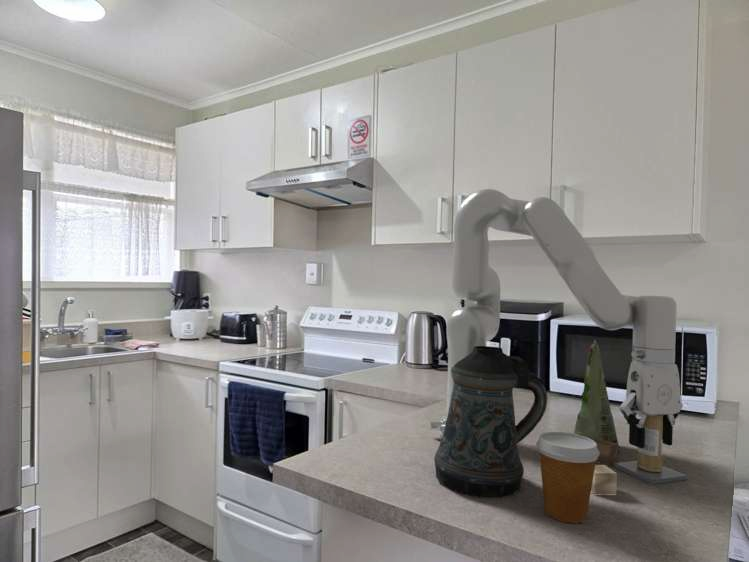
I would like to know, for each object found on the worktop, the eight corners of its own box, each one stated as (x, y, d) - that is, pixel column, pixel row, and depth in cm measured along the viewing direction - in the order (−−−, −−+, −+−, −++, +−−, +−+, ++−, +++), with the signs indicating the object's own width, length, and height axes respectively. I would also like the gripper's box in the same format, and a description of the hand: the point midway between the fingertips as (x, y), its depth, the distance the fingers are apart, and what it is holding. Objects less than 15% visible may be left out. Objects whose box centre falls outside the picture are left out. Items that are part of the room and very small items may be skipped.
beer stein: (418, 469, 95) (422, 342, 95) (497, 458, 103) (501, 341, 103) (466, 505, 80) (471, 354, 80) (555, 489, 87) (560, 352, 88)
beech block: (594, 495, 86) (595, 473, 86) (583, 486, 89) (583, 464, 90) (616, 495, 86) (616, 473, 86) (603, 486, 90) (604, 465, 90)
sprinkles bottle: (666, 470, 97) (668, 403, 97) (654, 474, 94) (657, 405, 94) (643, 463, 100) (645, 398, 101) (631, 466, 98) (634, 400, 98)
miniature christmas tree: (591, 457, 105) (595, 343, 106) (556, 440, 117) (559, 337, 117) (632, 454, 108) (635, 343, 109) (594, 437, 120) (597, 337, 120)
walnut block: (608, 466, 100) (609, 447, 101) (589, 460, 104) (590, 441, 104) (616, 462, 103) (617, 443, 103) (598, 456, 106) (598, 438, 106)
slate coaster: (652, 484, 91) (652, 480, 91) (614, 467, 100) (614, 463, 100) (686, 479, 94) (686, 475, 94) (647, 463, 103) (647, 459, 103)
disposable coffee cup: (576, 535, 71) (578, 454, 71) (522, 509, 79) (524, 436, 79) (609, 518, 77) (611, 443, 77) (556, 496, 84) (558, 428, 84)
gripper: (636, 360, 91) (633, 454, 91) (701, 358, 97) (699, 447, 97) (605, 354, 98) (602, 442, 98) (667, 353, 104) (665, 436, 104)
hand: (650, 443), depth 97 cm, fingers open, 6 cm apart
